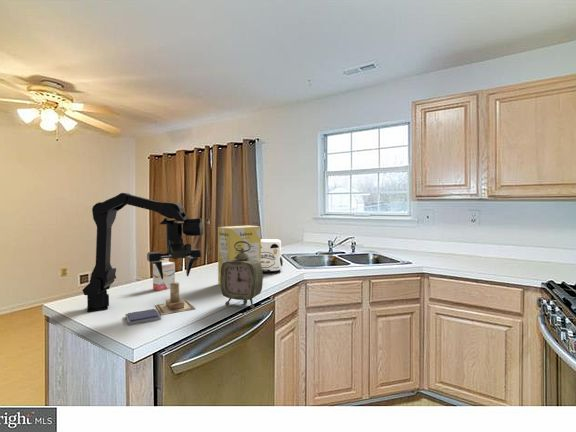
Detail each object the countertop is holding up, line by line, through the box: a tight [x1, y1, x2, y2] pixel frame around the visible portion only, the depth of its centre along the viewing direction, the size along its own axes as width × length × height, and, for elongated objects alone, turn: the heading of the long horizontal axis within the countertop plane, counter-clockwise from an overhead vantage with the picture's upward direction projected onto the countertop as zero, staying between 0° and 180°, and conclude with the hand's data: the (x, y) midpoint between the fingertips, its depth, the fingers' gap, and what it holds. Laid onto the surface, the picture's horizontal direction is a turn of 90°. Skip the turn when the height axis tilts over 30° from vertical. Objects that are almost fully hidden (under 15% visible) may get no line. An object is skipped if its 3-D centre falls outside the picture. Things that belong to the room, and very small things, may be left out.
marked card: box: [155, 299, 196, 316], centre depth 120 cm, size 12×12×1 cm
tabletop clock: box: [220, 241, 264, 310], centre depth 123 cm, size 14×9×25 cm, turn 71°
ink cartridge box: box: [152, 258, 176, 292], centre depth 148 cm, size 9×5×15 cm, turn 145°
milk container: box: [261, 238, 284, 273], centre depth 185 cm, size 17×17×18 cm
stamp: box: [165, 281, 184, 310], centre depth 120 cm, size 5×7×9 cm
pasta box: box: [217, 225, 262, 286], centre depth 158 cm, size 18×10×28 cm, turn 134°
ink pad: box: [125, 308, 162, 326], centre depth 109 cm, size 10×9×1 cm
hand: (175, 277), depth 120 cm, fingers open, 9 cm apart
